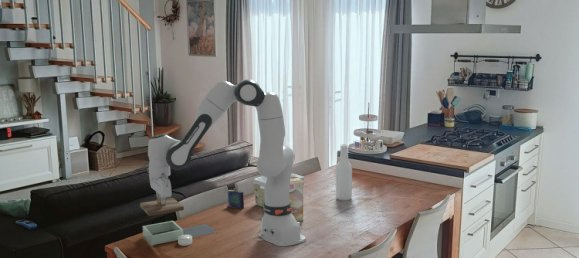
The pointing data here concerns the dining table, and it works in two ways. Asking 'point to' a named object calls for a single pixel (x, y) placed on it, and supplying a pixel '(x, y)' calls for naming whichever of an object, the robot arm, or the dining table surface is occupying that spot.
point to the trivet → (199, 230)
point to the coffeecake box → (296, 198)
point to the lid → (161, 206)
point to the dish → (162, 237)
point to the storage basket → (260, 184)
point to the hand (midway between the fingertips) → (161, 202)
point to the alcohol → (344, 175)
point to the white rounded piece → (185, 240)
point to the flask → (235, 198)
